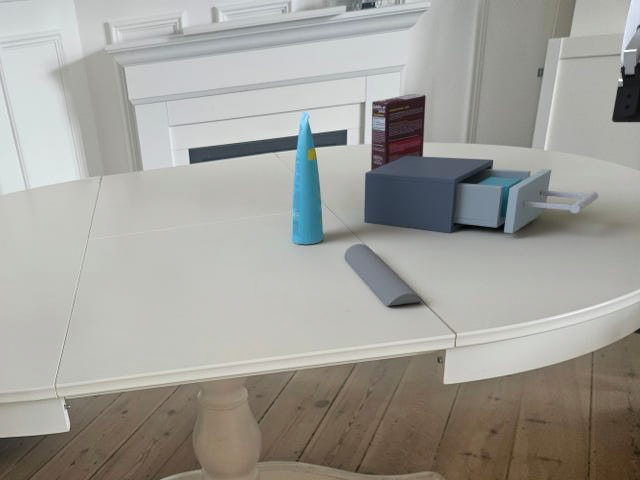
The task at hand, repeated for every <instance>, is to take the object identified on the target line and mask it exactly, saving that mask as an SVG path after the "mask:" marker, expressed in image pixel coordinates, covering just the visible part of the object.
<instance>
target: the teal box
mask: <svg viewBox="0 0 640 480" xmlns="http://www.w3.org/2000/svg"><path fill="white" fill-rule="evenodd" d="M521 181H522V179H515V178H500V177H490V178H488V179H486V180H484V181H482V182H480V183H478V184H479V185H493V186H504V189H503V197H502V205H501V214H500V217H506V213H507V205H508V197H509V189H510V188H511V187H513V186H514V185H516V184H518V183H520V182H521Z"/></svg>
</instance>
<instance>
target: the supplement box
mask: <svg viewBox="0 0 640 480" xmlns="http://www.w3.org/2000/svg"><path fill="white" fill-rule="evenodd" d="M426 96H427V95H426V94H416V93H415V94H405V95H401V96H396V97H391V98H386V99H380V100H375V101H374V100H373V101H371V107H372V108H371V109H372V110H371V153H370V154H371V158H370V159H371V162H370V165H371V166H370V171H371V170H374V169H376V168H378V167H381V166H383V165H385V164H388V163H390V162H393V161H395V160H397V159H400V158H402V157H405V156H420V157H424V139H425V116H426V100H427V99H426Z"/></svg>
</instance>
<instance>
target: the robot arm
mask: <svg viewBox="0 0 640 480" xmlns="http://www.w3.org/2000/svg"><path fill="white" fill-rule="evenodd" d="M627 13H628V15H627V18H626V23H625V27H624V33H623V38H622V45H621V53H620V63H621V64H622V66H621V67H620V71H619V72H620V76H619V78H618V81H617V88H616V95H615V100H614V106H613V110H612V117H611V121H612V122H613V123H640V0H630V4H629V9H628V12H627Z"/></svg>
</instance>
